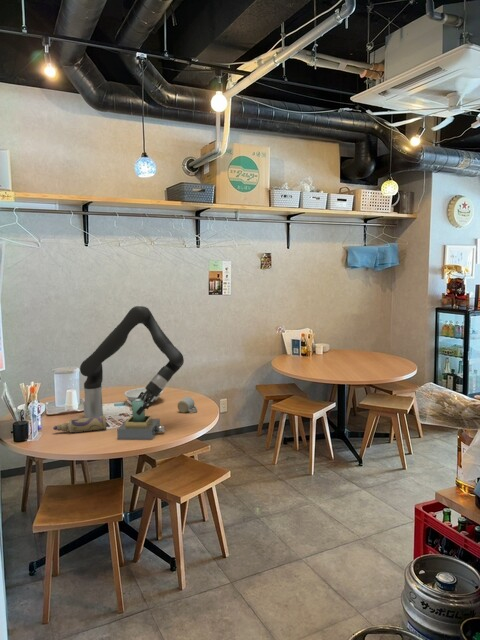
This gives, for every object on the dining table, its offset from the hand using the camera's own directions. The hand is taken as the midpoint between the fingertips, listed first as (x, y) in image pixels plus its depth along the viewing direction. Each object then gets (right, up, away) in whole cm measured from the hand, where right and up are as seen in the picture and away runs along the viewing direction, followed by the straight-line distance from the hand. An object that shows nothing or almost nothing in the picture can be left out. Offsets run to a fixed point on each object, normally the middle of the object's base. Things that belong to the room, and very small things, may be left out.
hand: (135, 412), depth 230 cm
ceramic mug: (+22, -7, +38) cm, 44 cm away
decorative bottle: (-29, -11, +9) cm, 33 cm away
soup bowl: (-8, -6, +59) cm, 59 cm away
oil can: (0, -5, +1) cm, 5 cm away
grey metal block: (+4, -11, +2) cm, 12 cm away
